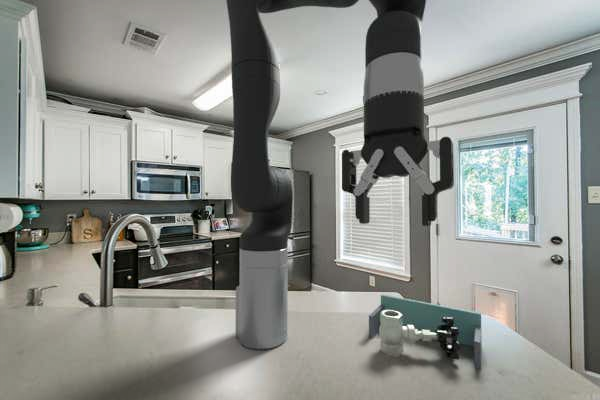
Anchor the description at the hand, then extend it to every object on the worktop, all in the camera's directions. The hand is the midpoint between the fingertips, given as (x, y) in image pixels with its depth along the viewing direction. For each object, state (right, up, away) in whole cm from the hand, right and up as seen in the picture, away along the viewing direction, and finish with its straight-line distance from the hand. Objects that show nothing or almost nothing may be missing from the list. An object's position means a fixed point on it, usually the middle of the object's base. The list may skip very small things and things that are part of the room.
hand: (393, 224), depth 35 cm
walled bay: (+11, -23, +15) cm, 30 cm away
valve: (+8, -24, +11) cm, 27 cm away
